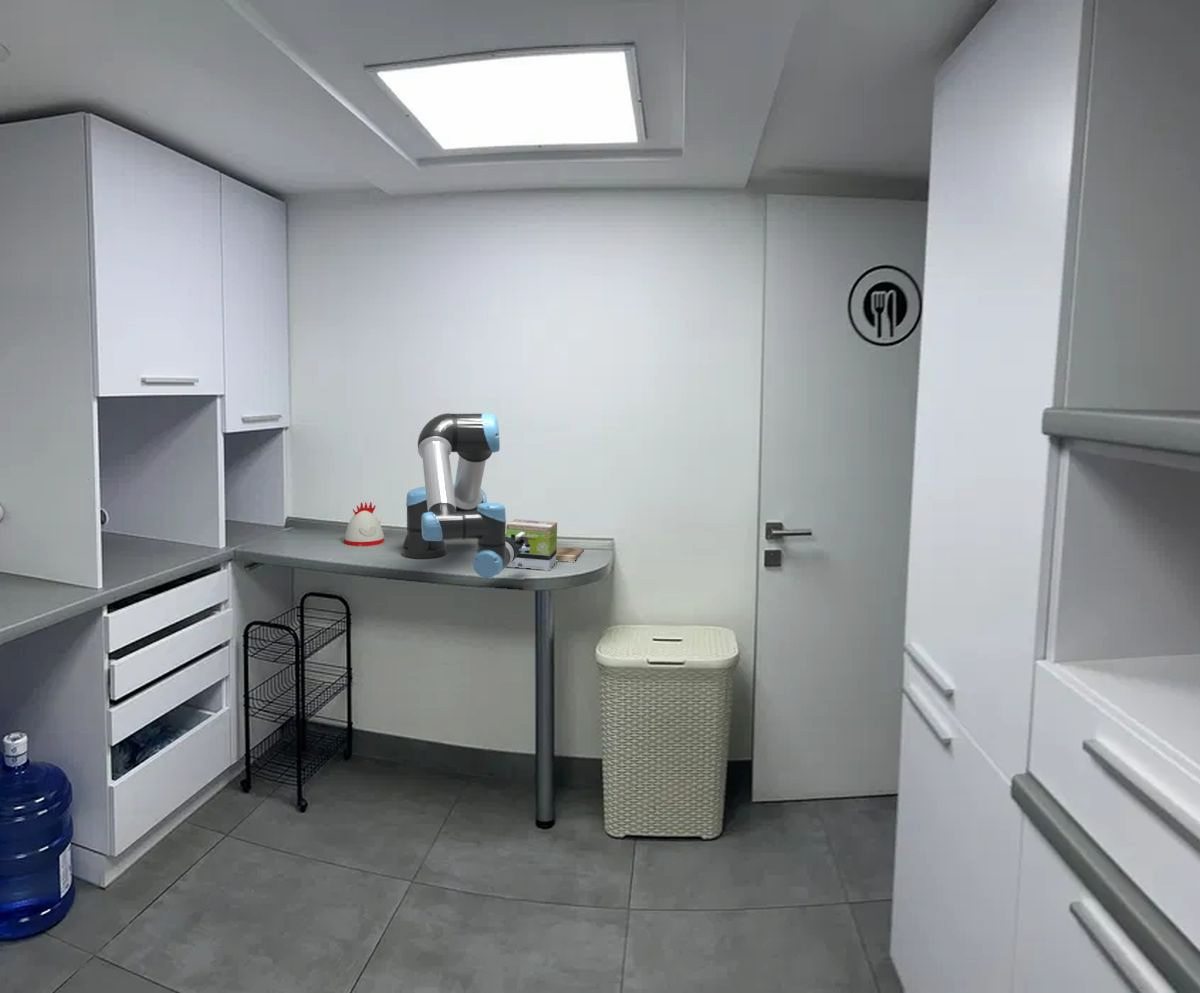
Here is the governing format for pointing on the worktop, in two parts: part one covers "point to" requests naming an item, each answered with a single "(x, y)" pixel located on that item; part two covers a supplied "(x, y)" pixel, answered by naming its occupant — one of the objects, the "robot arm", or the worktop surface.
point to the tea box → (535, 543)
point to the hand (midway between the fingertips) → (522, 536)
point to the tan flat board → (568, 554)
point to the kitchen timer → (364, 528)
